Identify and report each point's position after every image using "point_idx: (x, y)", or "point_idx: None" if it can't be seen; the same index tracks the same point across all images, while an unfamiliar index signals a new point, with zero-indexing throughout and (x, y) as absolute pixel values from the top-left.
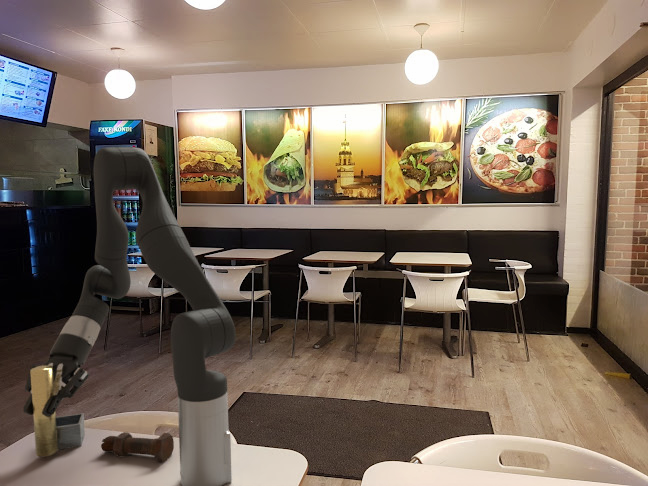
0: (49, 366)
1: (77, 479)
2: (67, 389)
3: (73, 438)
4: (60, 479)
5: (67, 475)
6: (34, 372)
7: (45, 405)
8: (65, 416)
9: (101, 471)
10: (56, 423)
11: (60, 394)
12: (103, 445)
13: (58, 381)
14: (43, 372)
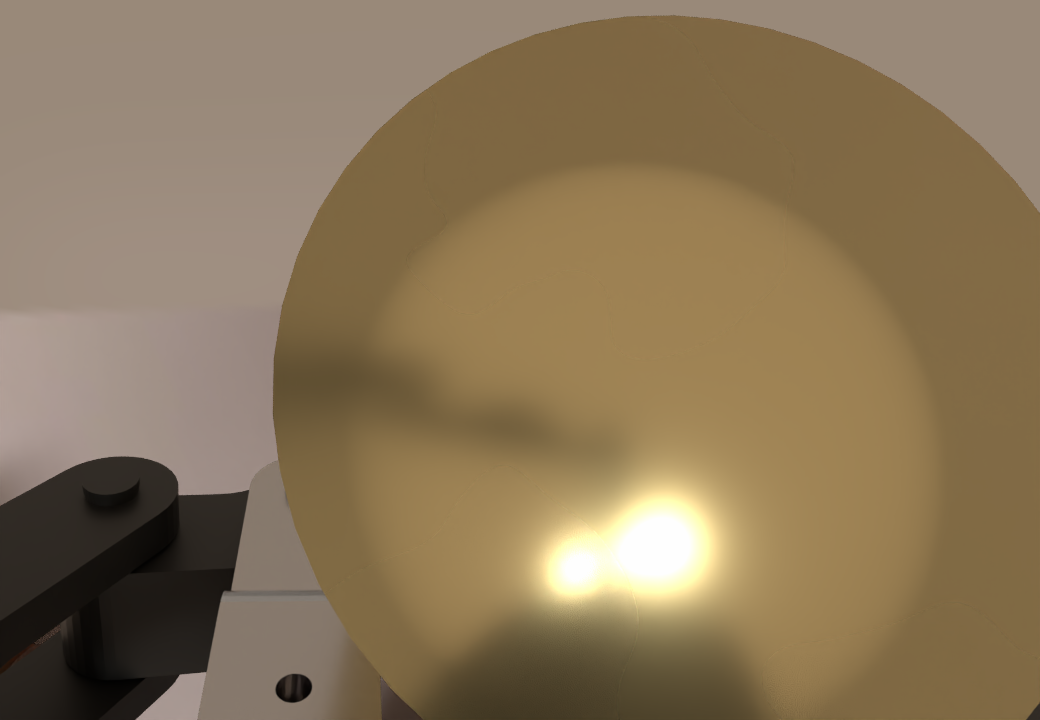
0: (530, 666)
1: (141, 320)
2: (26, 495)
3: None
4: (255, 317)
5: (232, 362)
6: (710, 40)
7: None
8: None
9: (9, 417)
10: None
11: (223, 504)
12: (27, 648)
13: (249, 607)
14: (428, 123)
